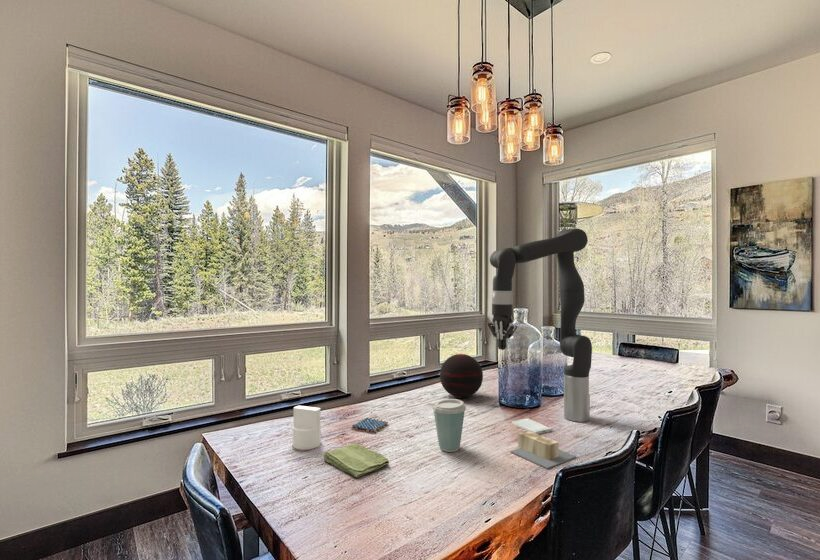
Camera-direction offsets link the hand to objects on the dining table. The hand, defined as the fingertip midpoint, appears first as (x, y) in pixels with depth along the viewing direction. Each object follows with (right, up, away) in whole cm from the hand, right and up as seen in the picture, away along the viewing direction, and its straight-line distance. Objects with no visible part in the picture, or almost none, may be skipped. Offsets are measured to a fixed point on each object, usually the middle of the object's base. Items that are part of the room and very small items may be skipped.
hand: (501, 349), depth 154 cm
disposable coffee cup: (-22, -29, -20) cm, 41 cm away
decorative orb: (-10, -29, +39) cm, 50 cm away
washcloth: (-50, -29, -31) cm, 66 cm away
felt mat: (+7, -29, -25) cm, 39 cm away
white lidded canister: (-69, -29, -17) cm, 76 cm away
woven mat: (-49, -29, -1) cm, 57 cm away
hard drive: (+11, -30, 0) cm, 32 cm away
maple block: (+3, -26, -18) cm, 32 cm away
